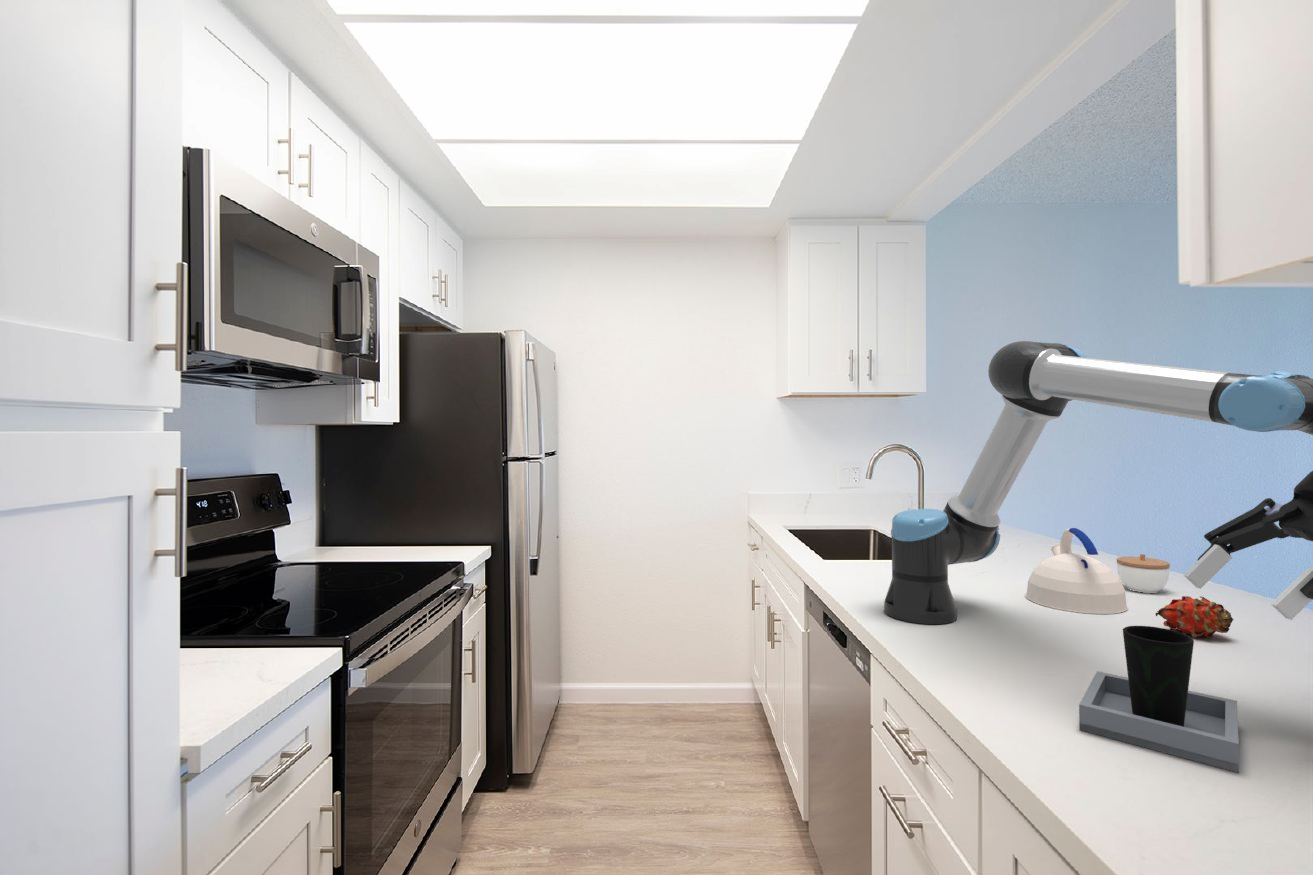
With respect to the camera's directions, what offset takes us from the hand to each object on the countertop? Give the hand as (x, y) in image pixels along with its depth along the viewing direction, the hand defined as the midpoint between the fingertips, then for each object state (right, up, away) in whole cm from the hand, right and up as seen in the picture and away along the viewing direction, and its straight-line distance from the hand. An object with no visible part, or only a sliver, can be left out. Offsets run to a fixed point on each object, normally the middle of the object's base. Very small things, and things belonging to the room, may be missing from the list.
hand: (1232, 596), depth 85 cm
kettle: (+21, -18, +62) cm, 68 cm away
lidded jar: (+45, -18, +72) cm, 87 cm away
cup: (-10, -17, 0) cm, 20 cm away
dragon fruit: (+28, -18, +38) cm, 50 cm away
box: (-11, -18, 0) cm, 21 cm away
